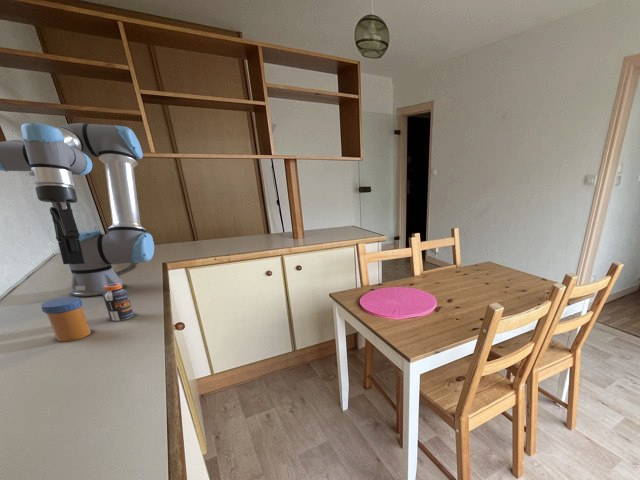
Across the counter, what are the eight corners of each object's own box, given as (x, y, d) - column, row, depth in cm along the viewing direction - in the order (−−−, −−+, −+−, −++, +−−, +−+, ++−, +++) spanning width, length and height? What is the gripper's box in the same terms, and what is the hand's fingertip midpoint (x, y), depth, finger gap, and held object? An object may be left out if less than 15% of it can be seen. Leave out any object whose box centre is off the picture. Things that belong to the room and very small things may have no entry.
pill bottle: (120, 322, 99) (109, 288, 95) (105, 320, 100) (94, 286, 96) (138, 314, 105) (129, 282, 101) (124, 312, 106) (114, 281, 102)
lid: (50, 305, 89) (47, 299, 88) (86, 301, 92) (84, 295, 92) (38, 315, 82) (35, 308, 82) (77, 310, 86) (74, 304, 85)
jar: (62, 333, 92) (49, 301, 88) (94, 328, 95) (83, 297, 91) (52, 343, 86) (38, 310, 82) (86, 338, 89) (74, 305, 86)
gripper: (31, 191, 90) (49, 264, 94) (38, 177, 75) (60, 265, 79) (68, 194, 96) (84, 262, 100) (82, 181, 81) (100, 262, 85)
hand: (73, 264), depth 90 cm, fingers open, 13 cm apart
